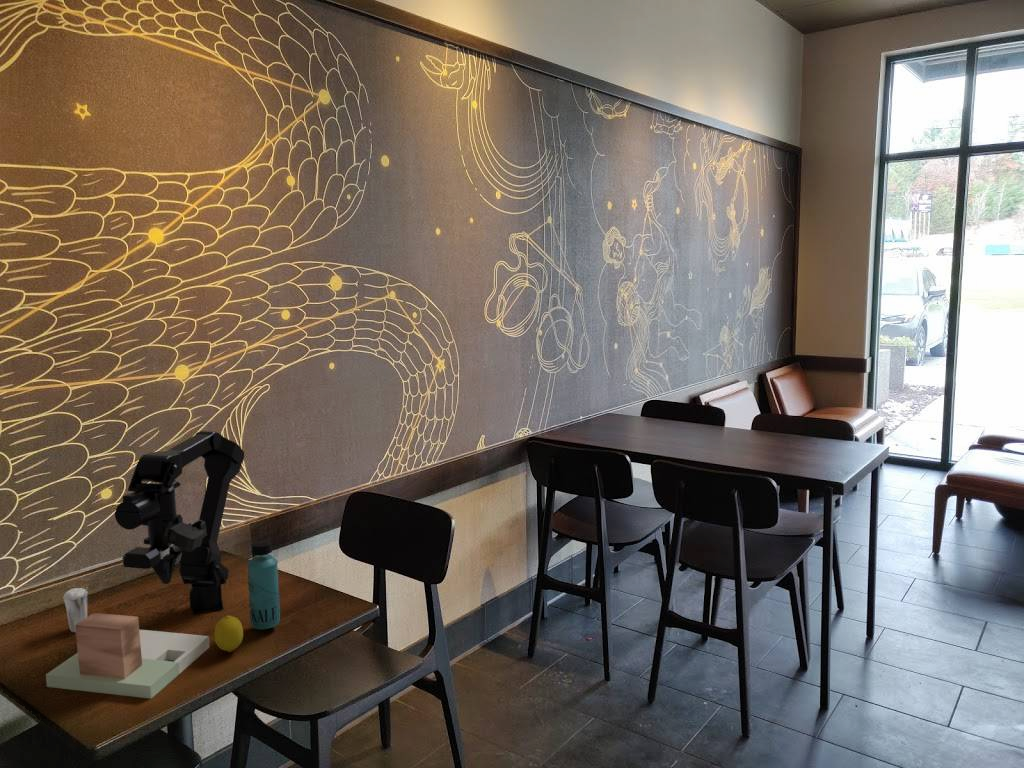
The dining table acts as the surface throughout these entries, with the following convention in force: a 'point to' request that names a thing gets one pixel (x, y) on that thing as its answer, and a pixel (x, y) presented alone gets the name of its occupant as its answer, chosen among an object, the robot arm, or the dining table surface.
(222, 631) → the lemon
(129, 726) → the dining table surface
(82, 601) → the milkshake
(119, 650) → the terracotta block
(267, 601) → the beverage bottle
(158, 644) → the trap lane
